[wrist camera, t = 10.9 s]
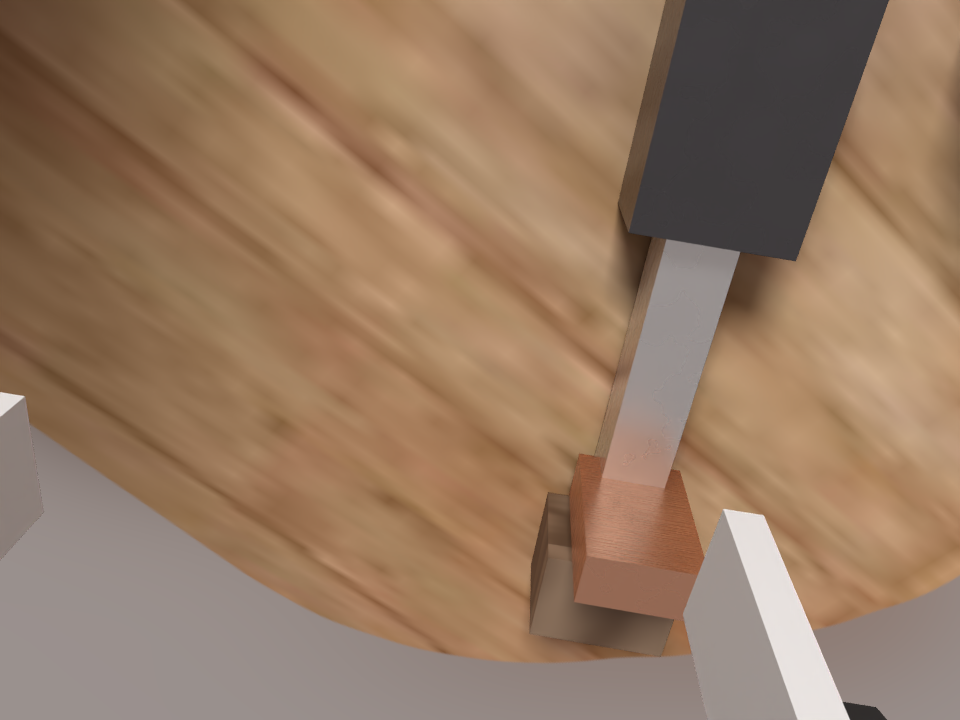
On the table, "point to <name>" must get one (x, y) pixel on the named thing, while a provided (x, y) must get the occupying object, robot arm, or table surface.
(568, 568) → the socket
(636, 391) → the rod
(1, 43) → the table surface
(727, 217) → the sleeve
